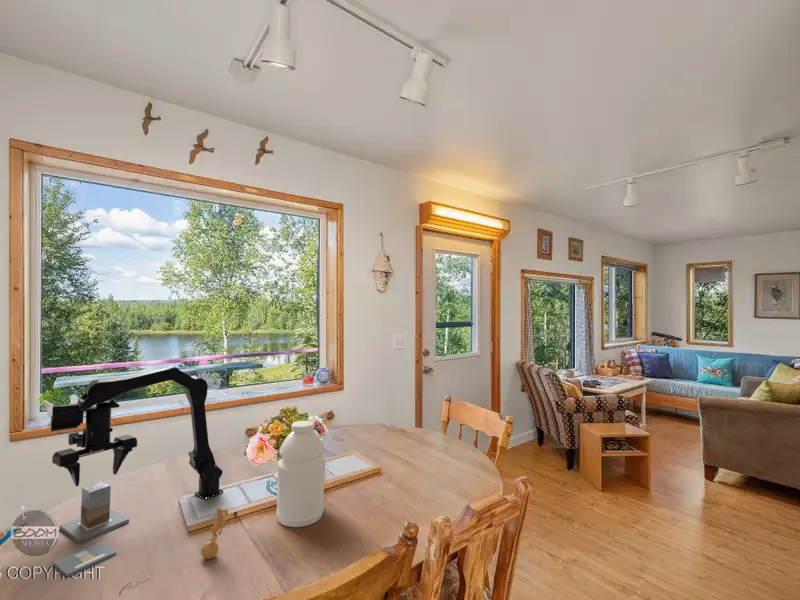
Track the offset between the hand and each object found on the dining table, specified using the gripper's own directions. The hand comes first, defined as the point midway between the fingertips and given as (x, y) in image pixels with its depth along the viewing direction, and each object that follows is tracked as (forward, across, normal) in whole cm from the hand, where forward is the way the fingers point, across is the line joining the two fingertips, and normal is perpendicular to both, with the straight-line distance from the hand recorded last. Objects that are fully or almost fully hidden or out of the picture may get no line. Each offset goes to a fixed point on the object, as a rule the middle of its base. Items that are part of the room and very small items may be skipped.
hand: (96, 479), depth 113 cm
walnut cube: (+12, 0, 0) cm, 12 cm away
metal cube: (+7, 0, 0) cm, 7 cm away
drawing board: (+13, +8, +15) cm, 21 cm away
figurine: (+13, -10, +40) cm, 43 cm away
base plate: (+13, 0, 0) cm, 13 cm away
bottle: (+13, -36, +44) cm, 58 cm away
